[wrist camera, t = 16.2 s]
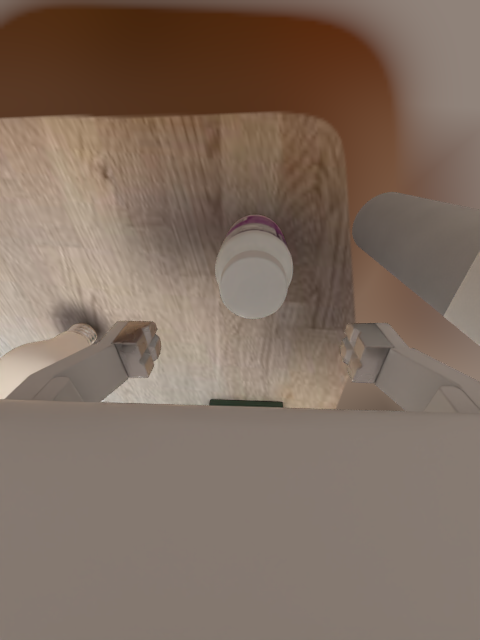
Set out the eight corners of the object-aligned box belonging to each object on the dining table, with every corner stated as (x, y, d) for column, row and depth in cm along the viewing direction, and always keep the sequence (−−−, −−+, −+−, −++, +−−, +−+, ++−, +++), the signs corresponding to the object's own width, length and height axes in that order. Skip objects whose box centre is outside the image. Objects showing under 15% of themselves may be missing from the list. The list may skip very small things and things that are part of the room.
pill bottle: (282, 271, 23) (295, 330, 15) (228, 272, 23) (212, 329, 15) (285, 211, 20) (305, 243, 12) (223, 213, 20) (201, 246, 12)
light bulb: (76, 350, 30) (-1, 430, 21) (49, 306, 27) (-59, 380, 18) (124, 348, 30) (66, 430, 21) (103, 303, 26) (20, 379, 17)
